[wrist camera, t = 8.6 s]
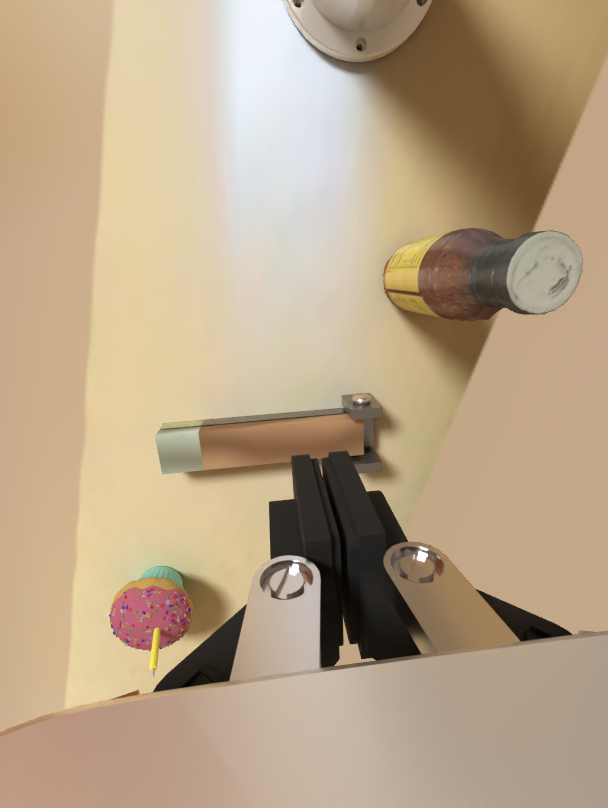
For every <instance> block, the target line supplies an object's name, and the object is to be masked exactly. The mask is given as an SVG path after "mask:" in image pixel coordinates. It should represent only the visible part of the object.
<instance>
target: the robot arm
mask: <svg viewBox="0 0 608 808" xmlns="http://www.w3.org/2000/svg"><path fill="white" fill-rule="evenodd" d="M283 1H284V4H285V6H286V9H287V11H288V13H289V15H290V16H291V18H292V20H293V22H294V24H295V25H296V27H297V28H298V29H299V30H300V32H301V33H302V34H303V35H304V37H305V38H306V39H307V40H308V41H309V42H310V43H312V44H313V45H314V46H315V47H316V48H318V49H319V50H320V51H322V52H324V53H326V54H327V55H329V56H331V57H333V58H336V59H340V60H344V61H347V62H366V61H371V60H376V59H379V58H381V57H383V56H385V55H387V54H390V53H391V52H393V51H394V50H395V49H397V48H398V47H399V46H401V45H402V44H403V43H404V42H405V41H406V40H407V39H408V38H409V37H410V36H411V35H412V33H413V32H414V31H415V30H416V28H417V27H418V25H419V24H420V22H421V21H422V19H423V18H424V16H425V14H426V12H427V10H428V9H429V7H430V5H431V3H432V0H283ZM417 3H419V4H420V6H419V5H418V4H417ZM295 4H299V5H300V7H299V8H298V7H296V6H295ZM356 47H360V48H361V50H362V51H358V50H357V48H356ZM291 462H292V476H293V490H294V499H291V500H281V501H271V502H269V519H270V552H271V560H269V561H267V562H266V563H264V564H263V565H262V566H261V567H260V568H259V569H258V570H257V571H256V573H255V575H254V577H253V581H252V585H251V589H250V594H249V598H248V602H247V604H246V605H245V606H244V607H243V608H242V609H241V610H239V611H238V612H237V613H236V614H235V615H234V616H233V617H232V618H230V619H229V620H228V621H227V622H226V623H225V624H224V625H222V626H221V627H220V628H219V629H218V630H217V631H216V632H214V633H213V634H212V635H211V636H210V637H209V638H208V639H206V640H205V641H204V642H203V643H202V644H201V645H200V646H199V647H197V648H196V649H195V650H194V651H193V652H192V653H191V654H189V655H188V656H187V657H186V658H185V659H184V660H183V661H181V662H180V663H179V664H178V665H177V666H176V667H175V668H173V669H172V670H171V671H170V672H169V673H168V674H167V675H166V676H165V677H164V678H163V679H162V680H161V681H160V682H159V683H158V685H157V686H156V688H155V689H154V691H153V692H151V693H146V694H141V695H140V693H139V690H137V691H134V692H131V693H128V694H125V695H122V696H119V697H117V698H114V699H111V700H107V701H102V702H97V703H91V704H86V705H81V706H77V707H73V708H70V709H66V710H62V711H59V712H55V713H51V714H48V715H44V716H41V717H39V718H36V719H33V720H30V721H28V722H25V723H22V724H19V725H16V726H14V727H11V728H8V729H6V730H4V731H1V732H0V808H608V631H603V632H590V631H579V632H578V634H576V635H572V634H571V633H570V632H569V631H567V630H565V629H564V628H562V627H560V626H558V625H557V624H555V623H552V622H550V621H548V620H546V619H543V618H541V617H539V616H536V615H534V614H532V613H530V612H527V611H525V610H523V609H520V608H518V607H516V606H514V605H511V604H509V603H507V602H504V601H502V600H500V599H497V598H495V597H493V596H491V595H488V594H486V593H484V592H481V591H479V590H477V589H475V588H474V587H473V586H472V585H471V584H470V583H469V581H468V580H467V579H466V578H465V577H464V576H463V575H462V574H461V572H460V571H459V570H458V569H457V568H456V567H455V565H454V564H453V563H452V562H451V561H450V560H449V559H448V557H447V556H446V555H445V554H443V553H442V552H441V551H440V550H438V549H436V548H434V547H432V546H431V545H427V544H423V543H419V542H408V540H407V538H406V537H405V535H404V533H403V531H402V529H401V527H400V525H399V523H398V521H397V520H396V518H395V516H394V514H393V512H392V510H391V508H390V506H389V505H388V503H387V501H386V499H385V497H384V495H383V493H382V492H381V491H369V492H366V490H365V487H364V485H363V483H362V481H361V479H360V477H359V474H358V472H357V470H356V468H355V466H354V464H353V461H352V459H351V457H350V455H349V453H348V451H337V452H329V454H328V457H324V458H322V471H323V477H322V474H321V470H320V467H319V463H318V460H317V458H314V459H311V458H310V455H309V454H305V455H294V456H291ZM343 618H344V622H345V626H346V631H347V635H348V639H349V643H350V644H357V643H358V647H359V651H360V655H361V659H365V658H366V659H367V658H373V659H375V660H376V661H370V662H363V663H355V664H348V665H340V666H334V665H335V664H336V663H337V662H338V660H339V646H342V645H343Z"/></svg>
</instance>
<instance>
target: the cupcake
mask: <svg viewBox="0 0 608 808" xmlns="http://www.w3.org/2000/svg"><path fill="white" fill-rule="evenodd" d="M109 616H110V621H111V622H110V623H111V627H112V628H113V631H114V632H115V634H116V637H117V636H118V637H119V638H120V640H121V641H122V642H123V643H124V644H125V645H126V644H127V645H128V646H131V647H132V648H133V647H135V649H143V650H149V651H151V658H150V666H149V670H150V671H152V676H153V677H154V676H155V675H154V671H155V670H156V668H157V660H158V650H159V648H160V649H162V648H164V647H166V646H168V647H169V645H172V644H173V643H174V642H176V641H178V639H179V640H180V638H181V637H183V635H184V634H185V633H186V631H187V630H188V628H189V625H190V623H191V620H192V616H193V602H192V600H191V599H190V597H189V596H188V593H187V591H186V590H185V589H184V587H183V580H182V577H181V575H180V574H179V573H178V572H177V571H176V570H174V569H172V568H170V567H166V566H157V567H153V568H151V569H149V570H147V571H146V572H145V573H144V574H143V575H142V577H141V578H140V579H139V580H137V581H132V582H129V583H128V584H127V585H125V586H124V587H123V588H122V589H121V590H120V591H119V592H118V593H117V594H116V595H115V597H114V600H113V603H112V606H111V613H110V615H109ZM114 632H113V634H114ZM115 634H114V635H115ZM127 645H126V646H127Z"/></svg>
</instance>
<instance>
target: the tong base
mask: <svg viewBox="0 0 608 808" xmlns="http://www.w3.org/2000/svg"><path fill="white" fill-rule="evenodd" d="M342 405H343V407H344V408H337V409H325V410H314V411H302V412H290V413H279V414H267V415H255V416H244V417H232V418H220V419H209V420H197V421H185V422H174V423H163V425H162V426H161V428H160V430H170V429H182V428H193V427H204V426H216V425H227V424H238V423H249V422H261V421H272V420H283V419H294V418H306V417H317V416H328V415H340V414H348V416H349V417H350V419H351V420H355V419H364V455H355V456H350V457H351V459H352V461H353V464H354V466H355V468H356V470H357V472H358V473H368V472H378V471H381V461H380V459H379V457H378V456H377V454H376V452H375V451H374V449H373V447H372V446H374V418H378V417H382V407H381V405H380V404H379V403H378V402H377V401H376V400H375V398H374V397H373V396H372V395H371V394H370V393H365V394H364V393H360V394H353V395H342Z"/></svg>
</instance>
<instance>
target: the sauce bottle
mask: <svg viewBox="0 0 608 808" xmlns="http://www.w3.org/2000/svg"><path fill="white" fill-rule="evenodd" d="M582 264H583V259H582V255H581V251H580V249H579V247H578V245H577V244H576V243H575V242H574V241H573V240H572V239H571V238H570V237H569V236H568V235H566V234H564V233H561V232H557V231H542V232H541V231H540V232H532V233H528V234H525V235H522V236H520V237H519V238H517V239H513V240H512V239H503V238H502V237H500V236H499V235H498V234H496V233H494V232H491V231H488V230H485V229H477V228H469V229H461V230H456V231H452V232H447V233H443V234H439V235H436V236H432V237H429V238H425V239H423V240H419V241H415V242H412V243H409V244H406V245H405V246H403V247H401V248H400V249H399V250H397V251H396V253H395V254H394V255H393V256H392V257H391V259H390V260H389V261H388V262H387V264H386V266H385V269H384V275H383V277H384V289H385V293H386V294H387V296H388V298H389V299H390V300H391V301H392V302H394V303H395V304H396V305H397V306H399V307H400V308H402V309H404V310H407V311H412V312H416V313H421V314H426V315H431V316H436V317H441V318H445V319H451V320H462V321H464V320H467V321H474V320H487V319H490V318H491V317H492V316H493V315H494V314H495V313H496V312H498V311H499V310H501V309H502V308H508V309H509V310H511V311H514V312H516V313H519V314H525V315H526V314H545V313H548V312H551V311H554V310H555V309H557V308H558V307H560V306H562V305H563V304H564V303H565V302H566V301H568V299H569V298H570V297H571V295H572V294H573V292H574V291H575V289H576V287H577V285H578V283H579V279H580V276H581V273H582Z"/></svg>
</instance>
